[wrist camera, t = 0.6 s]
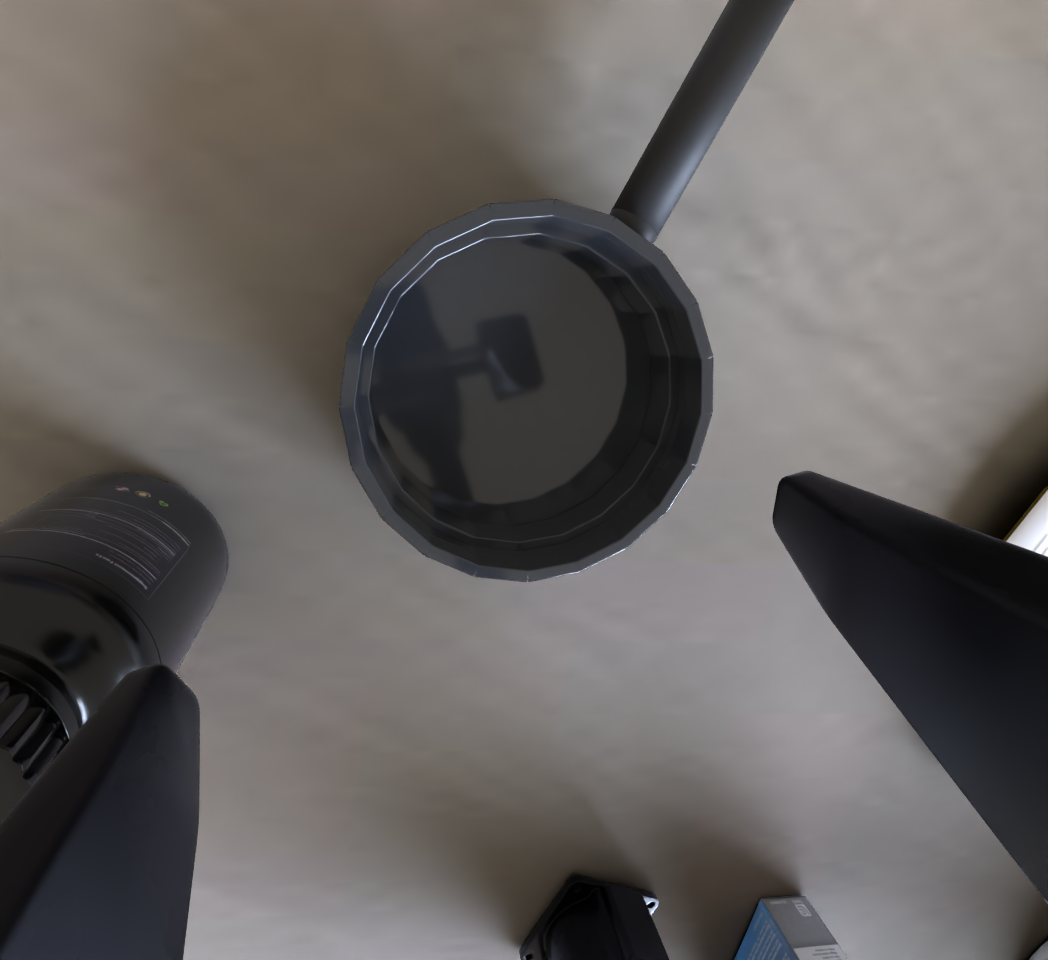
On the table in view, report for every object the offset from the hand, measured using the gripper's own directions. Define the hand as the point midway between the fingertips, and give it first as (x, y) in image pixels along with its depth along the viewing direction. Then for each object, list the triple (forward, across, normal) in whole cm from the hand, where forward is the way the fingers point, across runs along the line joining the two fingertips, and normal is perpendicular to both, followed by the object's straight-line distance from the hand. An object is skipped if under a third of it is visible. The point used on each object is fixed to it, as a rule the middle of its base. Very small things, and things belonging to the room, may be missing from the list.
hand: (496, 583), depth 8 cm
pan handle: (+15, -11, -3) cm, 19 cm away
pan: (+15, -3, +5) cm, 16 cm away
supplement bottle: (+14, +13, +8) cm, 20 cm away
